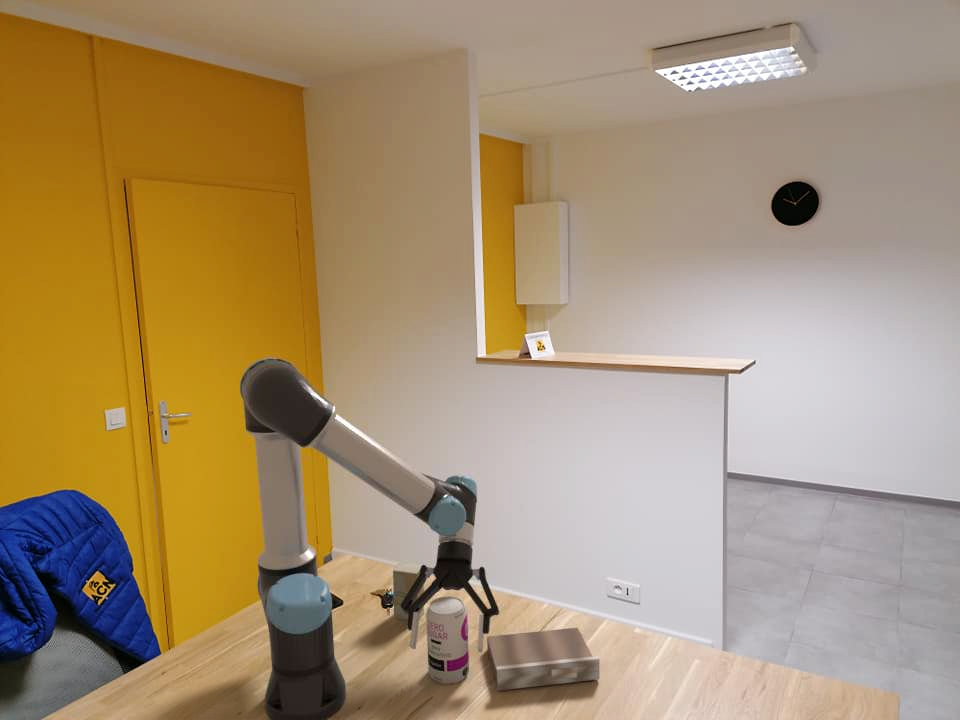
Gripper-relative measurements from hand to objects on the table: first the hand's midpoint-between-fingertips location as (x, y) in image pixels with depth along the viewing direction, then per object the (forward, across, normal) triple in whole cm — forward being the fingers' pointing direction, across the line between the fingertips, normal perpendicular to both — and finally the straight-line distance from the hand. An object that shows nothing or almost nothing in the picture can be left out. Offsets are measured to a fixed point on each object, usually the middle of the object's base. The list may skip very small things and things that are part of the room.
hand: (446, 649), depth 139 cm
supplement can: (+3, 0, -6) cm, 7 cm away
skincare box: (-12, +13, -22) cm, 28 cm away
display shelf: (0, -18, -10) cm, 21 cm away
